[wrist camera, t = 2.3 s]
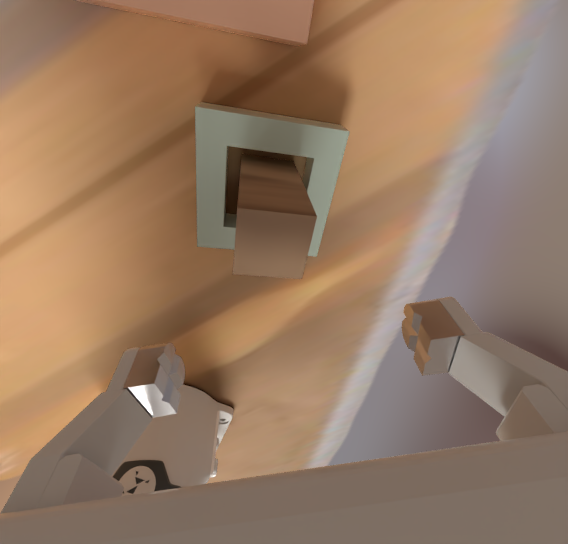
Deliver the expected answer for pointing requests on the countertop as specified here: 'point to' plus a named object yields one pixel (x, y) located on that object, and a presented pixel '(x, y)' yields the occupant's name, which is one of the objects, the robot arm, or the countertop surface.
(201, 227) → the green square frame
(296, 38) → the socket block
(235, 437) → the countertop surface
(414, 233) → the countertop surface
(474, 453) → the robot arm
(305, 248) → the plug
